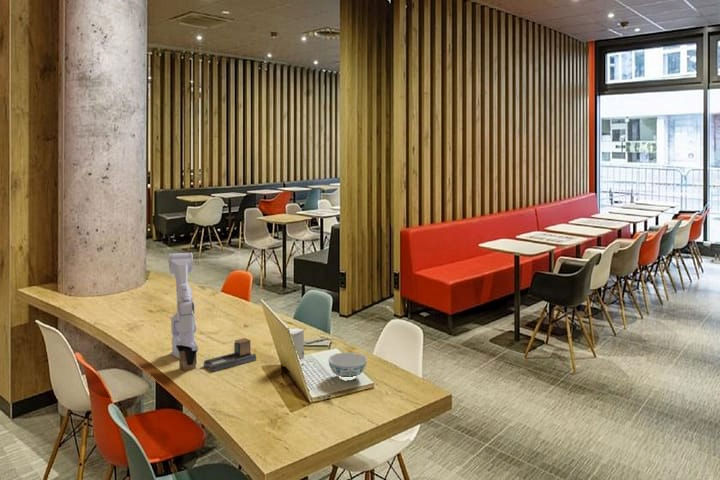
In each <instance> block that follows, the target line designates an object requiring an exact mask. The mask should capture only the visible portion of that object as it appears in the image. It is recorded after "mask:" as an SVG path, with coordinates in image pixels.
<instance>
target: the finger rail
mask: <svg viewBox="0 0 720 480" xmlns="http://www.w3.org/2000/svg"><path fill="white" fill-rule="evenodd" d="M233 345H234V346H233V348H234V349H233V351H234V352H232V353H228V354H226V355H220V356H217V357H214V358H209V359H205V360H204V361H203V367H204V368H206V369H207V370H209V371H211V372H213V373H214V372H218V371H222V370H226V369H229V368H232V367H237V366H240V365H243V364H247V363H251V362H254V361H257V355H256V353H251V352H252V351H251V346H252V345H251V339H249V338H246V337H244V338H239V339H236V340H234V344H233Z"/></svg>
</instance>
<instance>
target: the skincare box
mask: <svg viewBox="0 0 720 480" xmlns="http://www.w3.org/2000/svg"><path fill="white" fill-rule="evenodd" d="M288 330H290V333H291V336H292V339H293V342H294V345H295V348H296V351H297V354H298V356H299V359H300V360H301V359H303V358H304V359H305V337H304V336H305V335H304V334H305V330H304V329H302V328H296V327H293V328H289V329H288Z"/></svg>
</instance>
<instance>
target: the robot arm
mask: <svg viewBox="0 0 720 480" xmlns="http://www.w3.org/2000/svg"><path fill="white" fill-rule="evenodd" d="M167 259H168V260H167V262H168V263H167V264H168V271H169V273H170V274H172V275H174V278H175V287H176V288H175V289H176V312H175V314H174V315H172V317H171V318H170V319H171V320H170V322H171V323H170V324H171V325H170V327H171V328H170V329H171V330H170V331H171V335H172V338H171V349H172V350H171V351H172V352H170V353H169V354H170V355H172V356H173V357H175V358H177V359H179V352H181V351H184V353H185V356H186V361H187V365H188V366H189V365H193V362H194V358H195V354H196V356H198V353H197V352H198V350H199V345H198V344H197V342H196V340H195V334H196V332H197V324H196V323H197V322H196V316H195V311H196V310H195V302H194V298H193V292H192V287H191V286H190V285H189V283H188V281H189V277H188V274H189V273H191V272H193V267H194V257H193V253H192V252H180V253H178V252H177V253H171V252H170V253H169V254H168V257H167Z"/></svg>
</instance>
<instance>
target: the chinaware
mask: <svg viewBox="0 0 720 480" xmlns="http://www.w3.org/2000/svg"><path fill="white" fill-rule="evenodd" d="M327 360H328V361H327V362H328V364H329V368H330V370H331V371H332V373H333V374H334V375H335V374H336V375H335V376H337V375H338V376H341V377H353V376H357V375H359V376H360V375H361V374H362V373H363V372H364V370H365V369H366V366H367V364H368V358H367V357H366V356H365V355H362V354H360V353H356V352H339V353H335V354H332V355H330V356H329V357H328V359H327ZM338 376H337V377H338ZM357 377H358V376H357Z"/></svg>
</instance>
